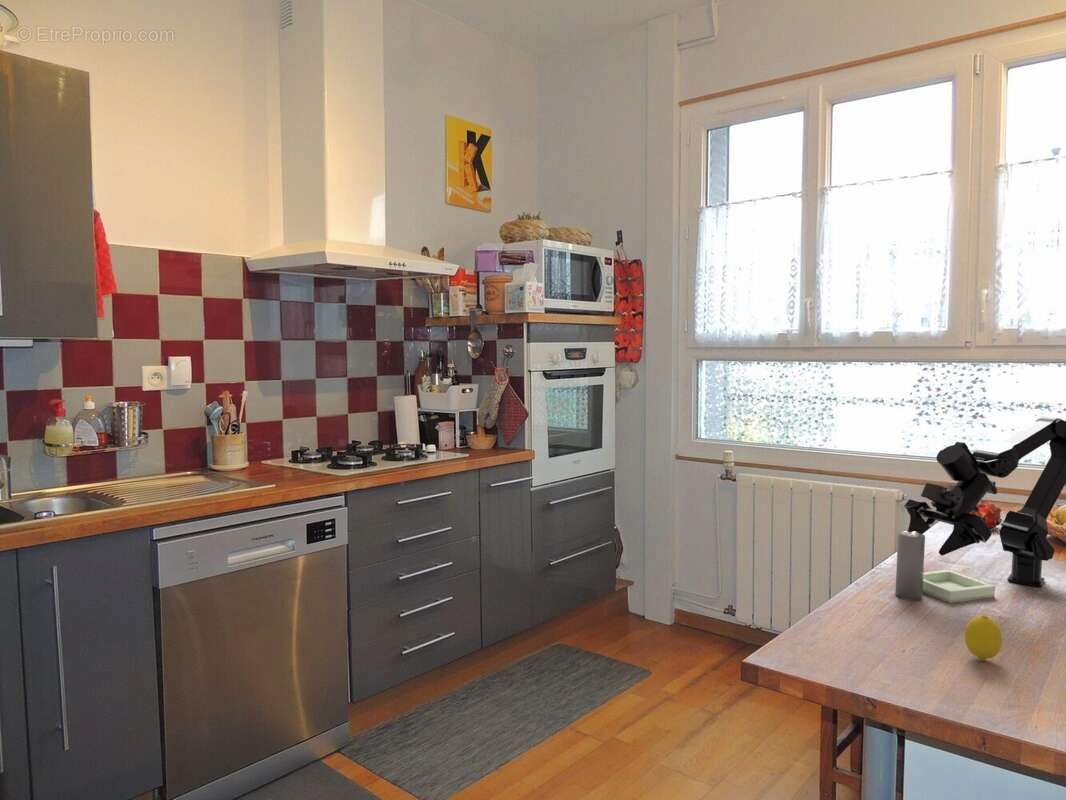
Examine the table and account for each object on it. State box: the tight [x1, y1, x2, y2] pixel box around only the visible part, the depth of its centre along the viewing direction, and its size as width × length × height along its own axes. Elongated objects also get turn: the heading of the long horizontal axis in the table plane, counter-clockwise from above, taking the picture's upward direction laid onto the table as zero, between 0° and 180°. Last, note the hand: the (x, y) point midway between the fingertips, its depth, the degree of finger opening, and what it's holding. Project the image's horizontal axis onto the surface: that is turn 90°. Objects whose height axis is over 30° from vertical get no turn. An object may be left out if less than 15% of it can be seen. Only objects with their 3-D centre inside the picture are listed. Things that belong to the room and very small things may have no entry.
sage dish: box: [923, 569, 996, 604], centre depth 165 cm, size 12×12×2 cm
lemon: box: [964, 614, 1003, 662], centre depth 129 cm, size 6×6×8 cm
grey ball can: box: [895, 530, 926, 601], centre depth 161 cm, size 5×5×14 cm
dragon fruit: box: [970, 500, 1003, 531], centre depth 220 cm, size 8×8×12 cm
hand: (922, 548), depth 162 cm, fingers open, 9 cm apart
